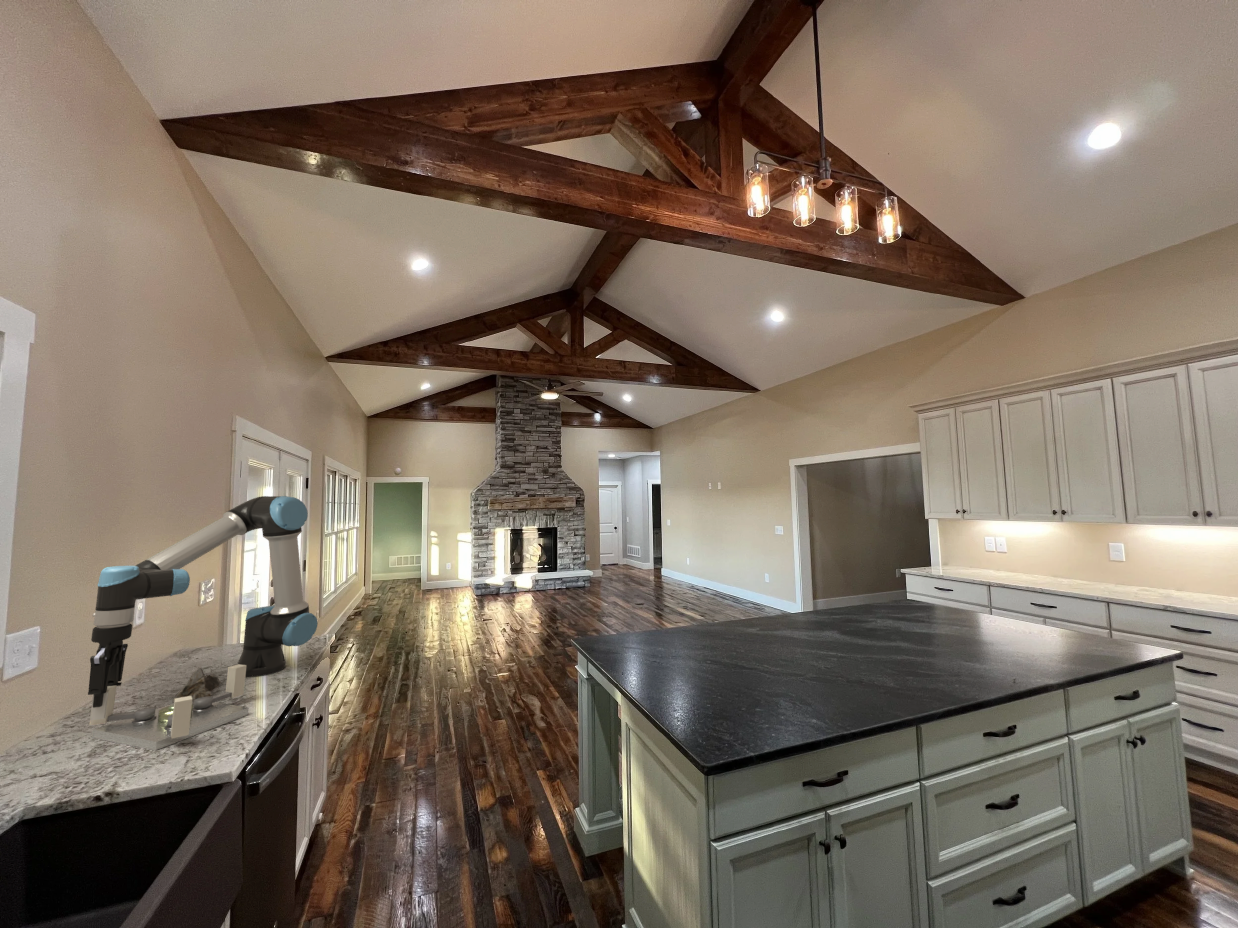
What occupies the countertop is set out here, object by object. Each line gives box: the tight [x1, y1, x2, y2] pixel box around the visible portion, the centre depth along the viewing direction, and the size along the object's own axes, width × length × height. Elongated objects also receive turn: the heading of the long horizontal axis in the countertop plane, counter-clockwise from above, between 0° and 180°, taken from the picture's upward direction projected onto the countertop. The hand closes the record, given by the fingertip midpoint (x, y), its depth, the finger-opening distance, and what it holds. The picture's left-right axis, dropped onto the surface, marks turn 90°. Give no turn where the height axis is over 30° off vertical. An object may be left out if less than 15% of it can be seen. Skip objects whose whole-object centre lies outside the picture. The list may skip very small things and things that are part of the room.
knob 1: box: [88, 685, 157, 726], centre depth 132 cm, size 13×4×9 cm, turn 112°
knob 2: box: [167, 696, 192, 739], centre depth 128 cm, size 13×4×9 cm, turn 45°
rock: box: [172, 667, 222, 702], centre depth 159 cm, size 18×11×10 cm, turn 17°
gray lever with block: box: [194, 663, 246, 709], centre depth 147 cm, size 13×4×9 cm, turn 165°
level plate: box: [91, 699, 249, 751], centre depth 135 cm, size 23×23×6 cm
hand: (101, 715), depth 130 cm, fingers closed on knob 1, 3 cm apart
